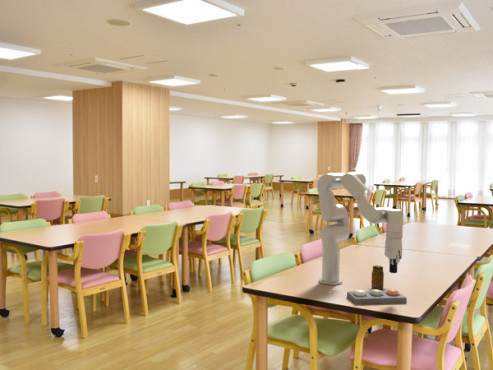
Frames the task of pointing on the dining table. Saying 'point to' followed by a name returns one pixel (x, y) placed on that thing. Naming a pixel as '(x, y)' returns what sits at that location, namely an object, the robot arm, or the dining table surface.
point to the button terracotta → (392, 292)
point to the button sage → (376, 292)
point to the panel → (376, 298)
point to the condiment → (378, 278)
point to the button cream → (359, 293)
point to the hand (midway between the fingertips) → (393, 272)
